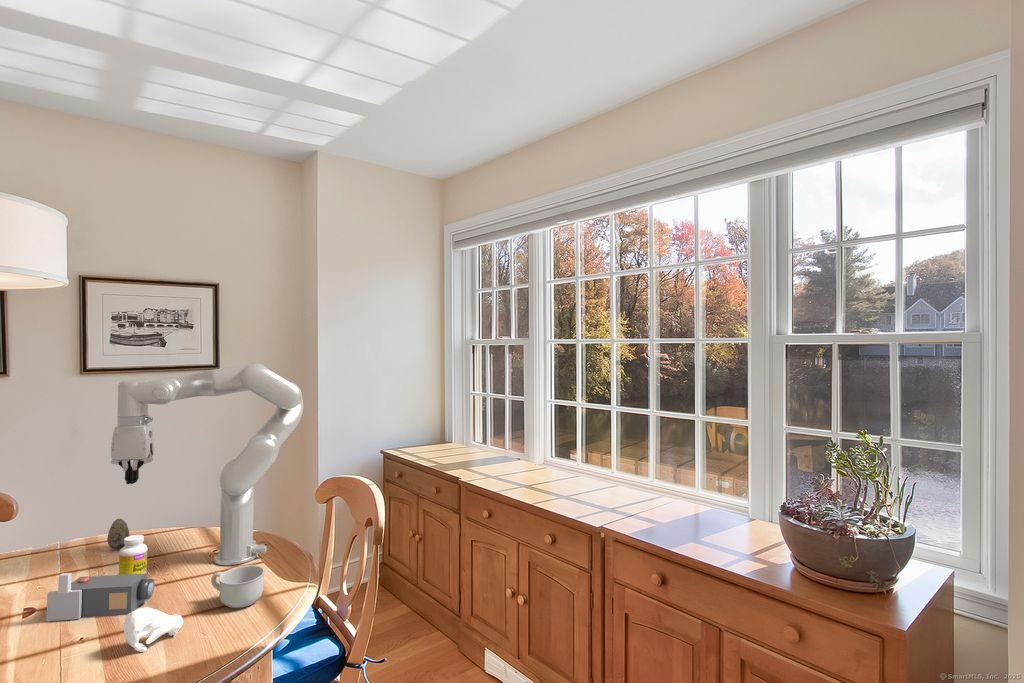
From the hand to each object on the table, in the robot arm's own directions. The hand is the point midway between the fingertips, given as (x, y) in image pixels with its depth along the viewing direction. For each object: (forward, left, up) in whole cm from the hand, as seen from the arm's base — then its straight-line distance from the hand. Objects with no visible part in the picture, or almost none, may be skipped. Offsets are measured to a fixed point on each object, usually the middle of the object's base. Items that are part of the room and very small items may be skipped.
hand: (131, 482), depth 162 cm
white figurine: (-25, +43, -27) cm, 56 cm away
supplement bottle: (-4, +8, -27) cm, 28 cm away
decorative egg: (+14, -21, -27) cm, 37 cm away
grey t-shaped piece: (+1, +28, -26) cm, 39 cm away
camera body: (-7, +24, -27) cm, 36 cm away
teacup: (-37, +25, -27) cm, 52 cm away
